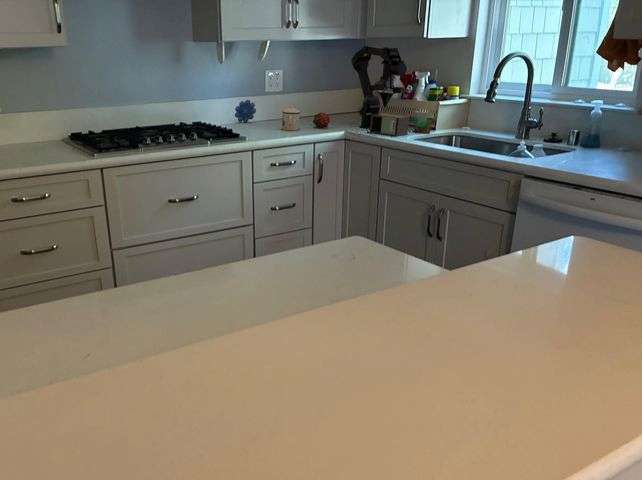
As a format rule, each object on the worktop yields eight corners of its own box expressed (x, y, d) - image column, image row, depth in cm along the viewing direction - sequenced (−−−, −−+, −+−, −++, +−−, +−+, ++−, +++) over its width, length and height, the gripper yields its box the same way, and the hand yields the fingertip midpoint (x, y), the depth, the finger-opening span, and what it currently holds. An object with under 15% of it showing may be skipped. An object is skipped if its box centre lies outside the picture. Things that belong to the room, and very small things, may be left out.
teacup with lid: (282, 127, 319) (283, 104, 314) (299, 128, 318) (300, 105, 314) (280, 131, 308) (281, 106, 303) (298, 131, 307) (299, 107, 303)
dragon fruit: (318, 132, 318) (320, 132, 330) (332, 122, 316) (333, 123, 327) (309, 117, 317) (311, 118, 329) (323, 108, 315) (325, 109, 326)
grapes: (256, 122, 336) (257, 99, 332) (255, 123, 330) (255, 100, 325) (235, 121, 337) (235, 98, 333) (233, 122, 331) (234, 99, 326)
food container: (406, 131, 320) (408, 111, 316) (416, 130, 322) (418, 110, 318) (421, 134, 310) (424, 114, 306) (431, 134, 312) (434, 113, 308)
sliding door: (377, 133, 305) (379, 117, 302) (381, 132, 307) (383, 116, 304) (390, 135, 300) (392, 118, 297) (394, 134, 302) (396, 118, 299)
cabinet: (366, 132, 311) (368, 114, 307) (380, 130, 319) (382, 113, 315) (394, 136, 300) (396, 118, 297) (407, 134, 309) (409, 116, 305)
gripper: (363, 73, 308) (360, 106, 314) (395, 75, 296) (391, 109, 302) (376, 73, 315) (372, 104, 321) (407, 75, 303) (403, 108, 309)
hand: (384, 106), depth 313 cm, fingers closed
